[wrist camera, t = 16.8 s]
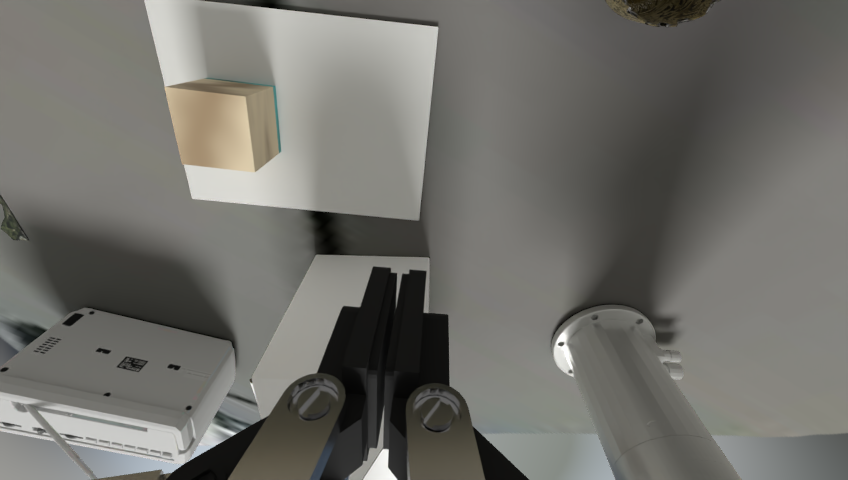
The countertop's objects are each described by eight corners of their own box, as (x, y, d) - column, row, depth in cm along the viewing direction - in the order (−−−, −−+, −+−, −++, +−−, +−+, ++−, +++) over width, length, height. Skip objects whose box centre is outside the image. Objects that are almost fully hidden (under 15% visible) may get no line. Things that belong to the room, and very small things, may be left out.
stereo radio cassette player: (84, 341, 50) (-101, 506, 33) (75, 296, 46) (-141, 457, 29) (239, 376, 53) (144, 544, 36) (243, 336, 49) (138, 505, 32)
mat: (438, 27, 30) (438, 27, 30) (418, 219, 39) (419, 220, 39) (145, -6, 30) (142, -6, 29) (193, 197, 39) (192, 198, 38)
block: (164, 86, 27) (207, 77, 32) (182, 164, 30) (219, 144, 35) (245, 96, 27) (275, 85, 33) (255, 172, 30) (281, 151, 36)
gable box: (426, 384, 53) (420, 686, 28) (335, 381, 53) (252, 679, 29) (430, 254, 42) (423, 568, 17) (315, 251, 42) (149, 558, 18)
